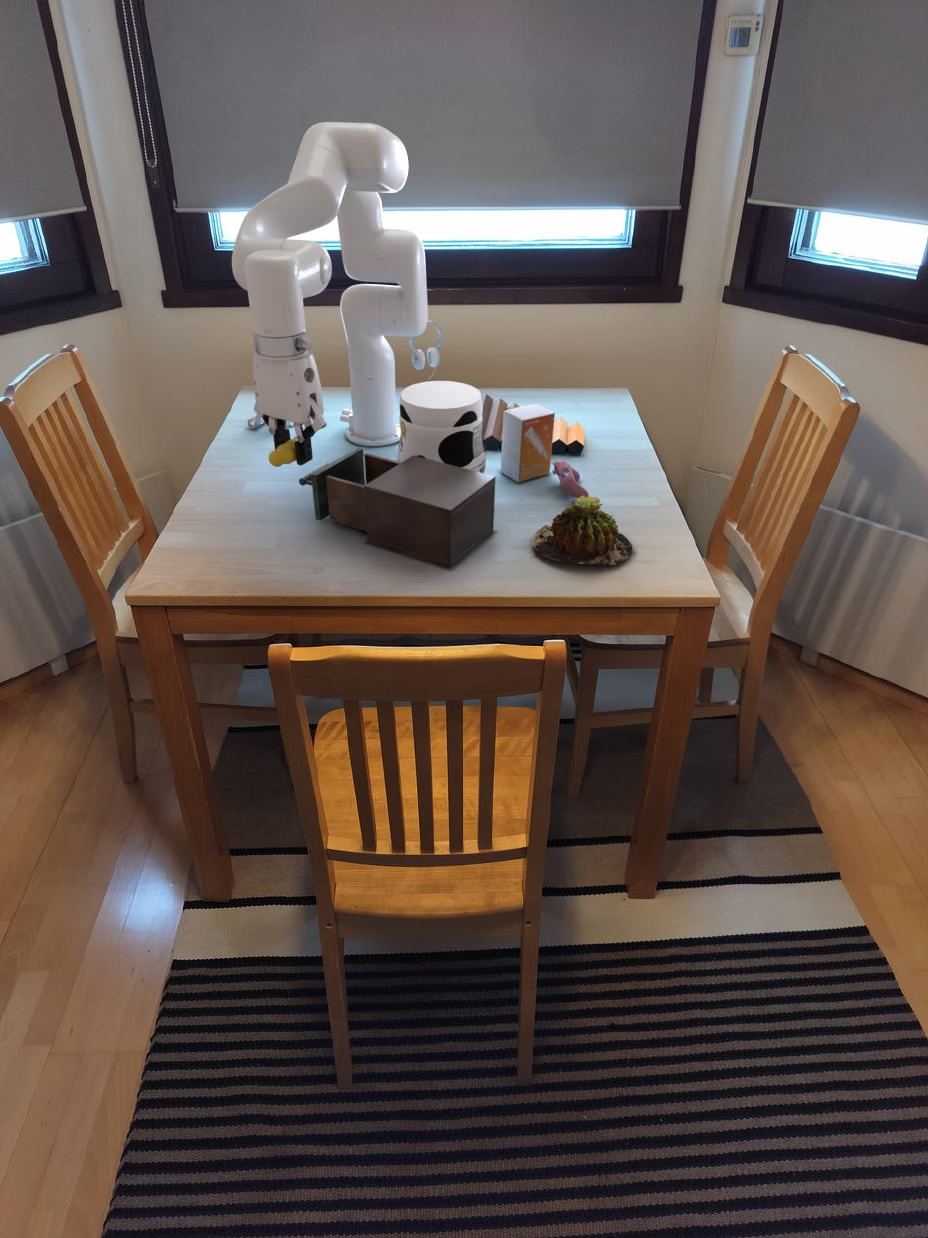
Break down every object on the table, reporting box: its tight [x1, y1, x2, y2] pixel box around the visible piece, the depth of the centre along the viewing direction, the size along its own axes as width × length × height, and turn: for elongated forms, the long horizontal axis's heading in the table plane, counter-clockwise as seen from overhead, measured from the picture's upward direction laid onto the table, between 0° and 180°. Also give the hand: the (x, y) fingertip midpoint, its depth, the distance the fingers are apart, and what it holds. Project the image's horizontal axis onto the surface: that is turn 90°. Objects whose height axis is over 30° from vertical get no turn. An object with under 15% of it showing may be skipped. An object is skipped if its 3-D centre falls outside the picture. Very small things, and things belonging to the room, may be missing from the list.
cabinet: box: [364, 455, 496, 570], centre depth 142 cm, size 17×15×11 cm
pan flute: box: [481, 393, 585, 456], centre depth 186 cm, size 25×3×25 cm
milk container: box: [395, 380, 487, 474], centre depth 158 cm, size 17×17×18 cm
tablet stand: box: [247, 413, 294, 430], centre depth 185 cm, size 9×8×8 cm
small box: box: [500, 403, 555, 483], centre depth 164 cm, size 8×6×13 cm
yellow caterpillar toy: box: [268, 436, 297, 468], centre depth 131 cm, size 9×4×3 cm, turn 150°
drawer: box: [298, 447, 402, 532], centre depth 149 cm, size 21×14×9 cm, turn 60°
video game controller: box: [551, 458, 590, 499], centre depth 160 cm, size 10×5×7 cm, turn 5°
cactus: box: [531, 495, 633, 566], centre depth 140 cm, size 17×16×10 cm
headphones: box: [408, 319, 443, 382], centre depth 192 cm, size 8×4×20 cm, turn 120°
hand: (294, 458), depth 132 cm, fingers closed on yellow caterpillar toy, 3 cm apart
